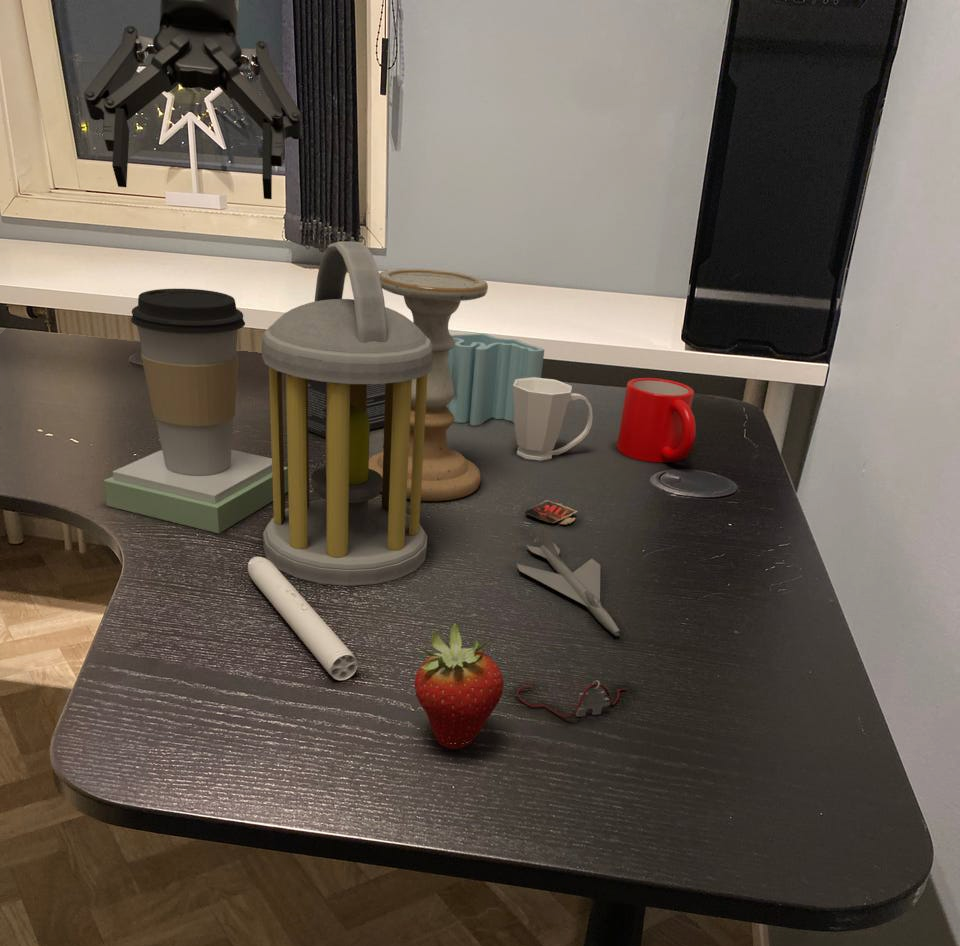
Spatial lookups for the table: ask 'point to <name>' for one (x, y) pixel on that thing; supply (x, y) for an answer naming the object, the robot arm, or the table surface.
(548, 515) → the matchbox
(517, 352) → the squiggly pen holder
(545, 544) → the toy airplane
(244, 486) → the scale
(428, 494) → the candle holder
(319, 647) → the white cylindrical rod
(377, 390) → the small box
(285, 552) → the lantern
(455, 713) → the fruit
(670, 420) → the mug
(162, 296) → the coffee cup
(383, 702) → the table surface
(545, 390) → the cup
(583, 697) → the pendant
